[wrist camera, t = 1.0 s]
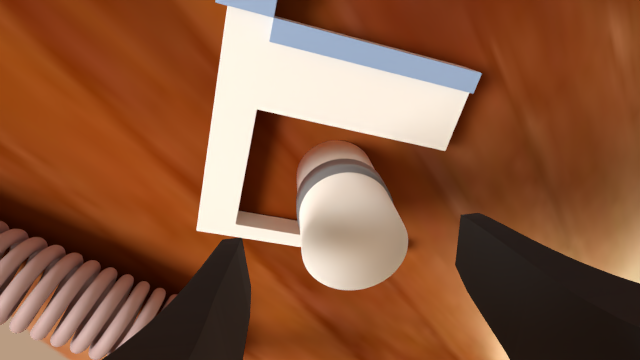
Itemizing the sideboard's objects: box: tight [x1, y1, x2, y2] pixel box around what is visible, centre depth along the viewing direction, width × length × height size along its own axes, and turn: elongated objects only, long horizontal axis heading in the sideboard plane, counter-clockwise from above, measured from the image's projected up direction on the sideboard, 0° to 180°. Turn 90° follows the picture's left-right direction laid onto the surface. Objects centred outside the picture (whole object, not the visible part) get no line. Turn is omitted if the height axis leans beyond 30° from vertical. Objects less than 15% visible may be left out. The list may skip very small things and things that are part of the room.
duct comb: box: [196, 0, 482, 247], centre depth 18 cm, size 12×19×2 cm, turn 166°
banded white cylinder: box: [296, 140, 408, 290], centre depth 19 cm, size 5×5×7 cm
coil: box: [0, 221, 178, 360], centre depth 20 cm, size 5×5×18 cm
